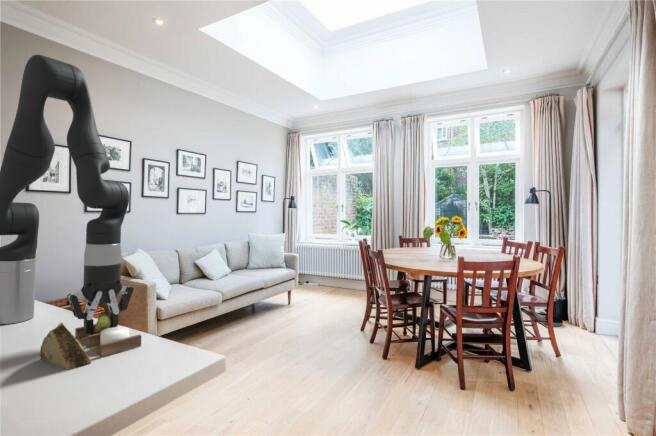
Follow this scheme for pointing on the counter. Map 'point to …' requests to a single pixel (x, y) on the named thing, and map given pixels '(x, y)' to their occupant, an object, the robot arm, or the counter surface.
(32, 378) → the counter surface
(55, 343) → the rock
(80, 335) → the rack
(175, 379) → the counter surface
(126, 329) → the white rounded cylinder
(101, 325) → the lime
